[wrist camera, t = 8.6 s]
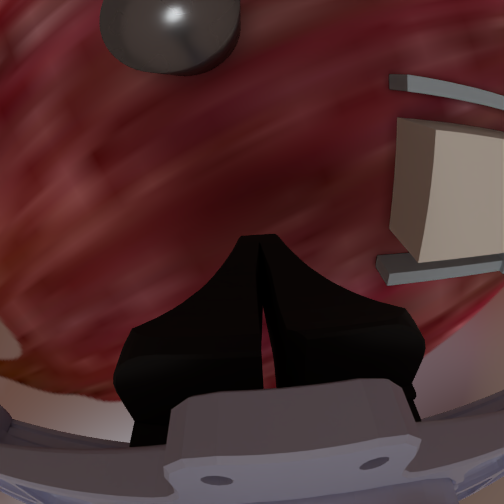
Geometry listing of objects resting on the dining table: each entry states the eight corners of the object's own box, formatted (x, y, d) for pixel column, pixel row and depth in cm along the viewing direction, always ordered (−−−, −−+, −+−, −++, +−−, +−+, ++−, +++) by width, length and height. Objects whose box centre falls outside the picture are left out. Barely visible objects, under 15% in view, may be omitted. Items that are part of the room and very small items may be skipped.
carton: (484, 222, 22) (519, 250, 18) (387, 227, 22) (417, 262, 18) (498, 130, 18) (541, 146, 14) (395, 117, 18) (435, 129, 14)
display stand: (491, 254, 23) (509, 272, 21) (375, 266, 23) (389, 289, 21) (517, 101, 16) (542, 108, 14) (389, 74, 16) (411, 74, 14)
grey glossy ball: (243, 70, 16) (244, 63, 11) (143, 83, 16) (104, 85, 11) (237, -19, 13) (235, -58, 8) (137, -4, 14) (99, -31, 8)
